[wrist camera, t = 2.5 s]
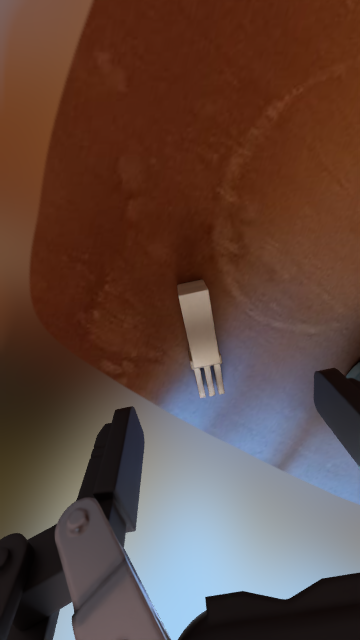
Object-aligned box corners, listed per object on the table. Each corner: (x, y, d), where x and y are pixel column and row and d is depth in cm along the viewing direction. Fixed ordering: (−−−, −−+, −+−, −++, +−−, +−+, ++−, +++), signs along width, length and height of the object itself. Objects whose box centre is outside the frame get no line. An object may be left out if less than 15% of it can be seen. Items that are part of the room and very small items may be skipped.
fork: (173, 285, 22) (174, 296, 19) (206, 278, 22) (211, 288, 19) (196, 388, 27) (200, 410, 24) (223, 383, 27) (230, 404, 24)
